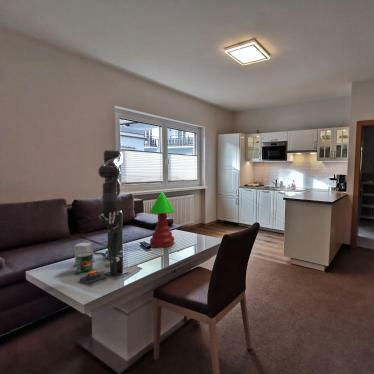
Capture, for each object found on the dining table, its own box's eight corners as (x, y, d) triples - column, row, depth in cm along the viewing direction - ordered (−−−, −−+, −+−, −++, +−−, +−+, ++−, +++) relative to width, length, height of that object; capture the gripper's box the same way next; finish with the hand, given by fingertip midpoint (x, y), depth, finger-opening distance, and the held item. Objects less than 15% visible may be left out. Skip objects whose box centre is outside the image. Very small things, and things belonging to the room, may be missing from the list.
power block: (79, 282, 127) (79, 274, 126) (94, 276, 134) (94, 269, 134) (91, 286, 123) (91, 278, 122) (106, 279, 130) (105, 272, 130)
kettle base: (104, 275, 135) (104, 257, 134) (117, 270, 142) (116, 253, 142) (115, 279, 131) (115, 260, 130) (128, 273, 138) (128, 256, 138)
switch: (104, 269, 139) (102, 264, 139) (109, 267, 141) (107, 262, 142) (116, 262, 134) (114, 257, 134) (121, 260, 137) (119, 255, 137)
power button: (87, 275, 127) (87, 272, 127) (94, 272, 130) (94, 269, 130) (91, 276, 126) (91, 273, 126) (98, 274, 129) (98, 270, 129)
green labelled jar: (93, 261, 155) (93, 242, 155) (87, 265, 149) (86, 245, 148) (81, 261, 156) (81, 242, 155) (74, 265, 149) (74, 245, 148)
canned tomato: (82, 269, 143) (81, 251, 142) (95, 269, 144) (95, 251, 143) (73, 274, 135) (72, 256, 135) (87, 274, 136) (87, 256, 135)
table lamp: (144, 244, 193) (144, 191, 191) (165, 239, 210) (165, 190, 207) (158, 249, 182) (158, 193, 180) (179, 243, 198) (179, 191, 196)
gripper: (116, 198, 141) (116, 227, 142) (94, 201, 129) (94, 231, 130) (124, 199, 138) (125, 228, 139) (102, 202, 126) (103, 233, 127)
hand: (110, 230), depth 134 cm, fingers closed
